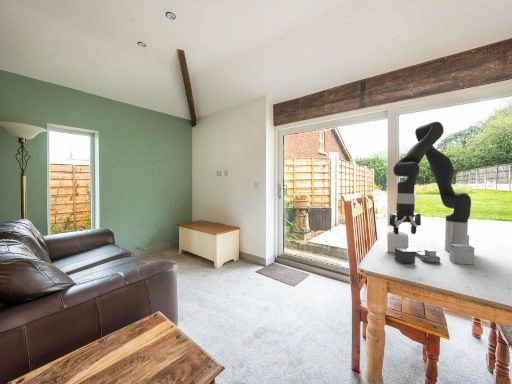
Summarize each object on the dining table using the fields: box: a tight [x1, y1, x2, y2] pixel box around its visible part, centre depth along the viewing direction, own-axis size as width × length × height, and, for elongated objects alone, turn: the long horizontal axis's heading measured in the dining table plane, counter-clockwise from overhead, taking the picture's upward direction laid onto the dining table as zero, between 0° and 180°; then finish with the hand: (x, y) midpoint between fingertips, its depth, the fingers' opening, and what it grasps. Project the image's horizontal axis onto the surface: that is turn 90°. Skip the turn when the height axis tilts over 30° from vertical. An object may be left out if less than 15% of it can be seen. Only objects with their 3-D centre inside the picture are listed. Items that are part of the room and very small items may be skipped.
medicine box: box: [448, 244, 475, 265], centre depth 106 cm, size 8×4×9 cm, turn 71°
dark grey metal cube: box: [394, 247, 416, 265], centre depth 110 cm, size 6×6×6 cm
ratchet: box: [408, 247, 441, 265], centre depth 115 cm, size 8×18×6 cm, turn 0°
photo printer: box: [387, 230, 409, 254], centre depth 122 cm, size 10×4×12 cm, turn 39°
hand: (404, 233), depth 109 cm, fingers open, 8 cm apart
